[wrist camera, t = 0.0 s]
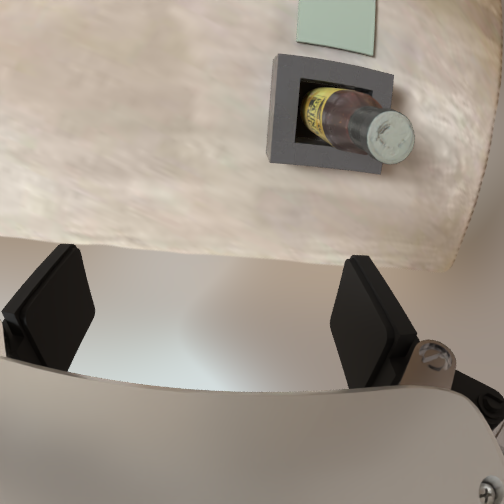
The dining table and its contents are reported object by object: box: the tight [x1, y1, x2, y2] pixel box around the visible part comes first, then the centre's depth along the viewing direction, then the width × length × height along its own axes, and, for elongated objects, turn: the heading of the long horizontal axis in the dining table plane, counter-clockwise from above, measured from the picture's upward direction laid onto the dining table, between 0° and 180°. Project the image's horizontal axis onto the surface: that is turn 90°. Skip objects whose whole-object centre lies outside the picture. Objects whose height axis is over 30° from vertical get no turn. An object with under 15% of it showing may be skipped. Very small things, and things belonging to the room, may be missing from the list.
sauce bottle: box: [299, 87, 415, 164], centre depth 27 cm, size 7×6×20 cm
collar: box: [266, 54, 394, 174], centre depth 33 cm, size 12×13×6 cm
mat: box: [296, 0, 375, 56], centre depth 29 cm, size 10×10×1 cm
